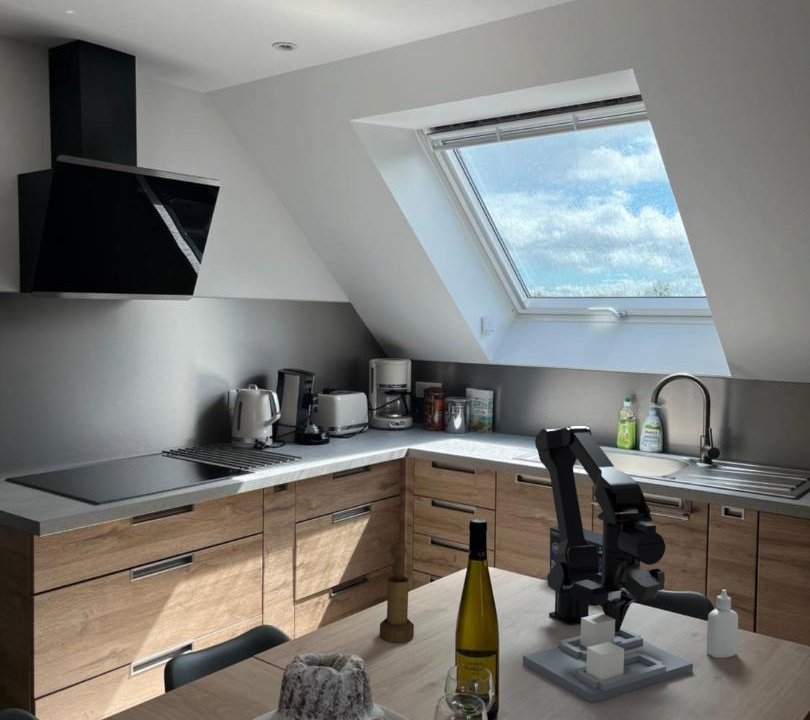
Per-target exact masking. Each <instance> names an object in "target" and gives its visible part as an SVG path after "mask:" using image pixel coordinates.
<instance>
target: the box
mask: <svg viewBox="0 0 810 720" xmlns="http://www.w3.org/2000/svg"><path fill="white" fill-rule="evenodd" d="M583 531H584V537H585V539H586V541H587V542H588V543H589V544H590V546H592V545H594V546H595V547H596V549H597V552H600V551H602V541H603V533H599V532H595V531H592V530H590V529H586V528H584V527H583ZM559 544H560V535H559V529H558V525H556V526H552V527H550V528H549V572H550V571H551V570H552V569H553V568H554V566H555V554H556V552H557V549H558V547H559ZM598 561H599V564H600V573H601V571H602V559H601V558H598ZM597 584H602V581H600V580H598V583H597Z"/></svg>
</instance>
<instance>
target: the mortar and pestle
mask: <svg viewBox="0 0 810 720" xmlns="http://www.w3.org/2000/svg"><path fill="white" fill-rule="evenodd" d="M390 554H391V556H392V558H393V560H394V562H393V563H394V564H393V566H392V573H393V575H391V576H388V578H387V602H386V604H387V605H386V607H387V608H386V618H384V620H382V621H381V622H380V625H379V637H380V638H381V640H383V641H385V642H389V643H395V644H397V643H398V644H400V643H408V642H410V641H412V640H413V639H414V636H415V635H414V634H415V632H414V631H415V630H414V629H415V626H414V623H413V621H412V622H411V620H410V619H409V618H408V610H409V609H408V608H409V584H410V583H409V581H410V579H409V578H408V577H406V576H403V575H404V571H405V566H404V564H403V560H404V558H405V556H406V554H407V547H406V545H405V544H404V543H403V542H400V541H399V542H397V541H396V542H394V543H393V544H392V545H391V547H390Z"/></svg>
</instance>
